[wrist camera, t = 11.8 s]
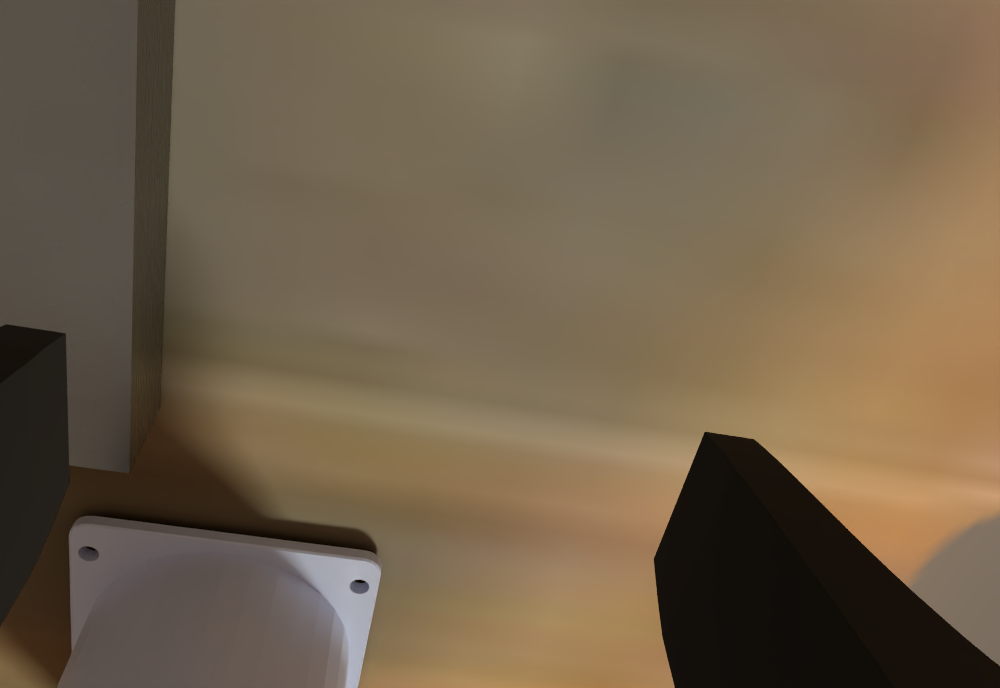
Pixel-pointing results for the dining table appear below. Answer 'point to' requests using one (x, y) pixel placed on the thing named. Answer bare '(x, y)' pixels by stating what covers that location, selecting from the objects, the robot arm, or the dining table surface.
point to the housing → (89, 204)
